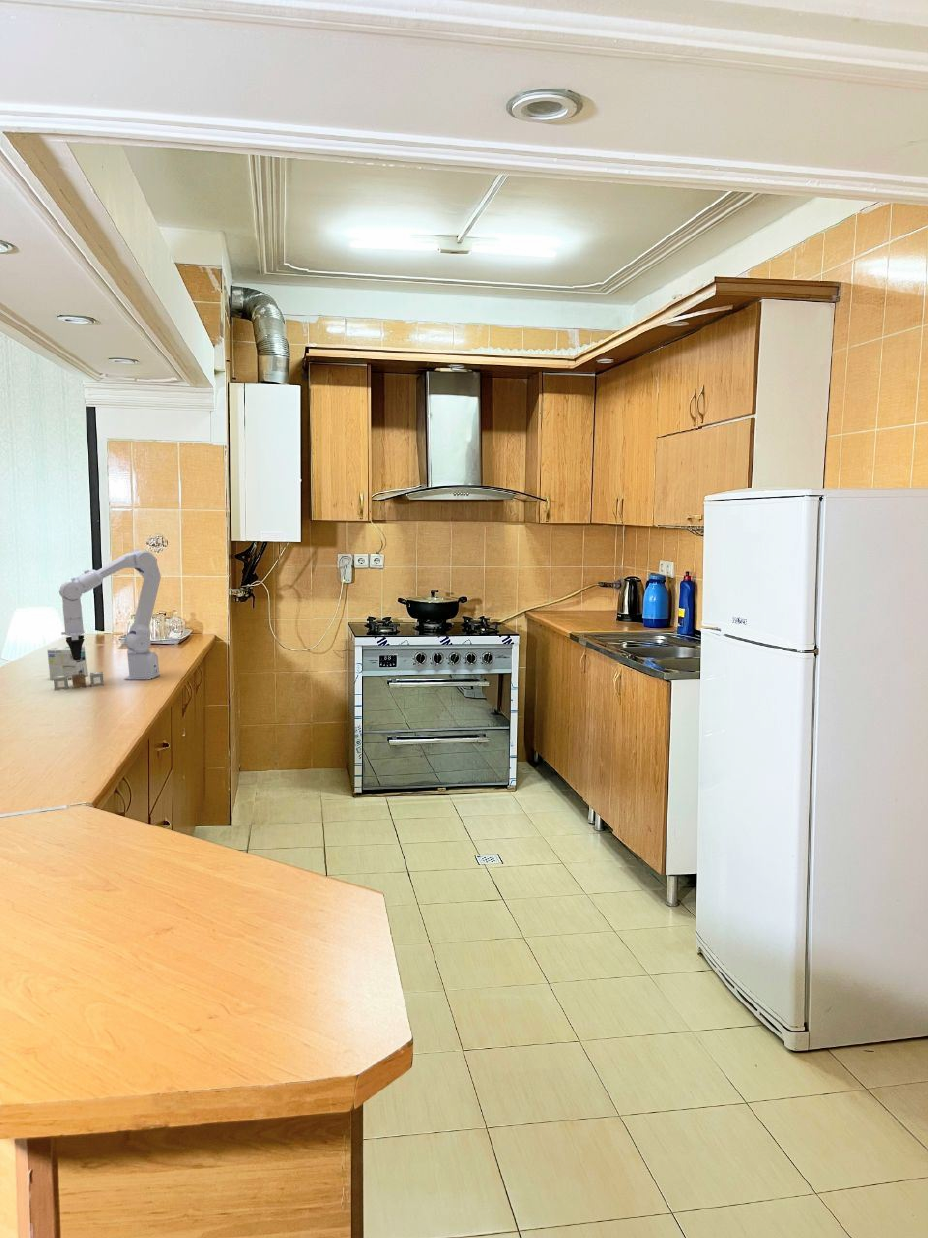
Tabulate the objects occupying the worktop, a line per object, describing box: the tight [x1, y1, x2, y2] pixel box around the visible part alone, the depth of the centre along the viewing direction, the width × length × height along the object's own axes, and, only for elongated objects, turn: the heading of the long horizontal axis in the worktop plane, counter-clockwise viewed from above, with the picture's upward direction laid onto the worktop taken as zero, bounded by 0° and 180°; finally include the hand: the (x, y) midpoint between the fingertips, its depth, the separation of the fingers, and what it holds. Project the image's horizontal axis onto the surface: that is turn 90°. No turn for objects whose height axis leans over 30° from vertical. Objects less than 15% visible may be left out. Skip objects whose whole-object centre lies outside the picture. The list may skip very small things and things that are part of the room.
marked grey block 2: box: [89, 671, 105, 687], centre depth 298 cm, size 4×4×4 cm
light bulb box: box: [47, 645, 89, 680], centre depth 312 cm, size 11×7×11 cm, turn 84°
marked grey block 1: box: [53, 675, 69, 691], centre depth 293 cm, size 4×4×4 cm
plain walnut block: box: [71, 674, 87, 689], centre depth 296 cm, size 4×4×4 cm
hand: (77, 658), depth 295 cm, fingers open, 5 cm apart
